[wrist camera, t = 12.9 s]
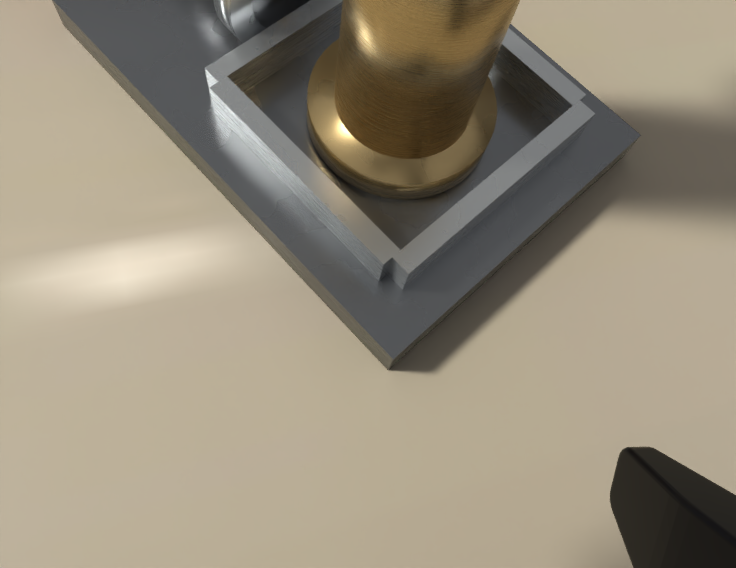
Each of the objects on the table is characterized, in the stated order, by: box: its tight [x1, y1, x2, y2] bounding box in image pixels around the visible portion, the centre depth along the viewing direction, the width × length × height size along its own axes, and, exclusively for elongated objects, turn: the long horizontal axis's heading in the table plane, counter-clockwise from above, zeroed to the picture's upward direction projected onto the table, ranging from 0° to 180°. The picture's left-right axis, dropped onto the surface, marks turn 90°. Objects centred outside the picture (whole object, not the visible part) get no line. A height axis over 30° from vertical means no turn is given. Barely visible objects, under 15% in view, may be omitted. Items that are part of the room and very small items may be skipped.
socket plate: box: [52, 0, 640, 370], centre depth 25 cm, size 20×14×7 cm
